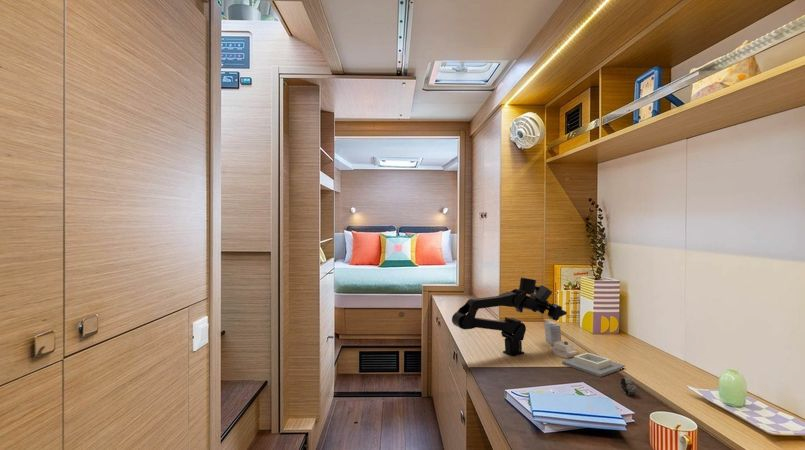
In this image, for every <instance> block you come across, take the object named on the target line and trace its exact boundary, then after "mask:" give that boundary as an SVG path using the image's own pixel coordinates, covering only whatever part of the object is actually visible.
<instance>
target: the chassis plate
mask: <svg viewBox="0 0 805 450" xmlns="http://www.w3.org/2000/svg"><path fill="white" fill-rule="evenodd" d="M561 364H562V365H564V366H567V367H570V368H573V369H576V370H579V371H581V372H585V373H587V374H590V375H593V376H596V377H598V378H602V377H605V376H607V375H610V374H612V373H613V374H614V373H616V372H618V371H621V370H620V369H621V368H623V367H625V368H626V366H625V365H624V364H621V363H617V362H614V361H612V359H610V358H607V357H603V356H600V355H597V354H594V353H590V352H584V353H581V354H577V355H573V357H570V358H567V359H565V360H562V361H561Z"/></svg>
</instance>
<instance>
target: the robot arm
mask: <svg viewBox="0 0 805 450" xmlns="http://www.w3.org/2000/svg"><path fill="white" fill-rule="evenodd" d="M519 279H520V281H519V288H514V289H512V290H511V291H505V292H503V293H500V294H499V295H493V296H485V297H479V298H469V299H468V300H467V301H466V302H465V303H464V304H463V305H462V306H461V307H459V309H458V310H457V311H456V312H454V313H453V315H452V317H451V323H452V324H453V326H455V327H457V328H459V329H461V330H473V329H476V328H477V329H486V330H491V331H493V330H494V331H501V332H500V334H501V336H502V338H504V349H505V350H503V351H502V353H504V354H506V355H508V356H511V357H515V356H520V355H523V354H525V351H523V345H522V341H524V339H525V334H526V331H527V327H526V325H525V323H523V322H522V320H520V319H516V318H514V317H506V316H504V320H498V319H497V320H496V319H489V318H481V317H476V315H477V312H478V310H480V309H485V308H486V309H487V308H495V307H507V308H508V307H509V308H514V309H515V311H516V312H517V313H518V312H519V313H520V314H522V313H523V310H524V309H525V310H528V311H532V312H534V313H537V312H538V313H540V314H545V312H546V311H548V312H547V316H548V317H547V318H549V319H551V320H554V321H559V319H560V318H561V317H563V316H566V315H567V314H568V312H567V311H565V310H564V309H563V307H562V306H561V305H559V304H557V303H550V302H549V300H548V299H549V298H550V296H551V295H552V293H553V291H552V290H551V289H549V288H548V287H546V286H544V285H537V279H533V278H527V277H526V278H525V277H520V278H519Z"/></svg>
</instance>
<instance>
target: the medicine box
mask: <svg viewBox="0 0 805 450" xmlns="http://www.w3.org/2000/svg"><path fill="white" fill-rule="evenodd" d="M544 333H545V341H546V342H548V343H549V344H550V345H551V346H554V342H558V341H562V333H561V325H560V324H558V323H556V322H555V321H545V322H544Z"/></svg>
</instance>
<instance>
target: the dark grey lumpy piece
mask: <svg viewBox="0 0 805 450" xmlns="http://www.w3.org/2000/svg"><path fill="white" fill-rule="evenodd" d="M627 387H628V388H627ZM620 388H621V390H622V391H623V394H625V395H626V396H632V395H636V394H637V392H638V389H637V386H636V384H634V383H633V381H632V380H631V378H630V377H629V376H628V377H626V376H624V377H622V378H621V379H620Z"/></svg>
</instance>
